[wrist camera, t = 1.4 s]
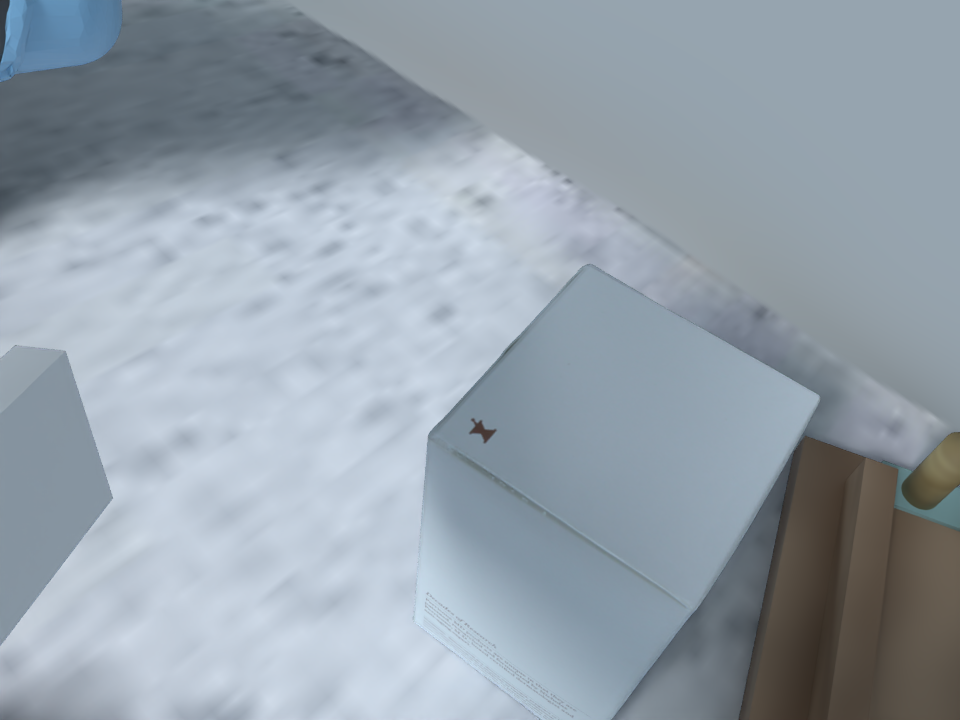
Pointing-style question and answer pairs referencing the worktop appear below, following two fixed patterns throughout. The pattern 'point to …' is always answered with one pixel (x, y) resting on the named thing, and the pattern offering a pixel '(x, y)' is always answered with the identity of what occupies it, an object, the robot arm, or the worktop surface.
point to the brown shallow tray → (862, 592)
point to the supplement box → (595, 494)
